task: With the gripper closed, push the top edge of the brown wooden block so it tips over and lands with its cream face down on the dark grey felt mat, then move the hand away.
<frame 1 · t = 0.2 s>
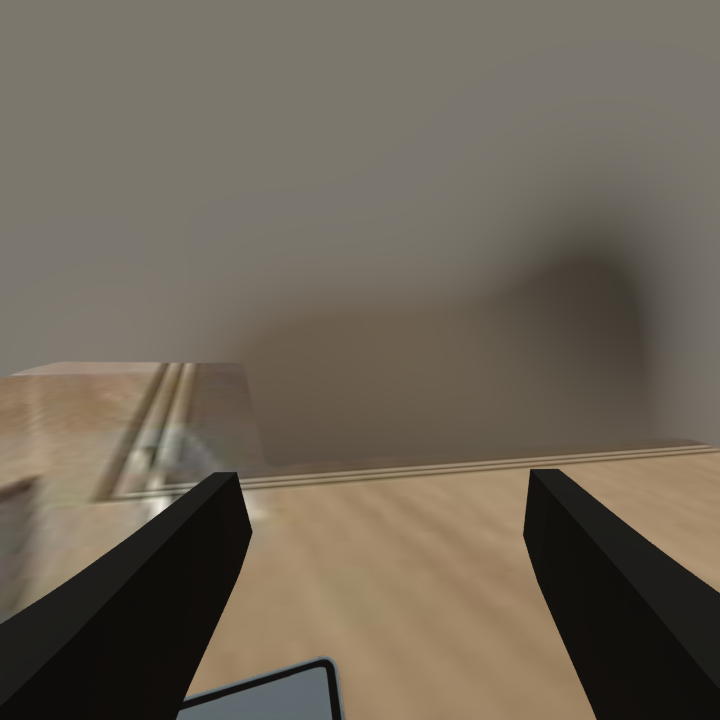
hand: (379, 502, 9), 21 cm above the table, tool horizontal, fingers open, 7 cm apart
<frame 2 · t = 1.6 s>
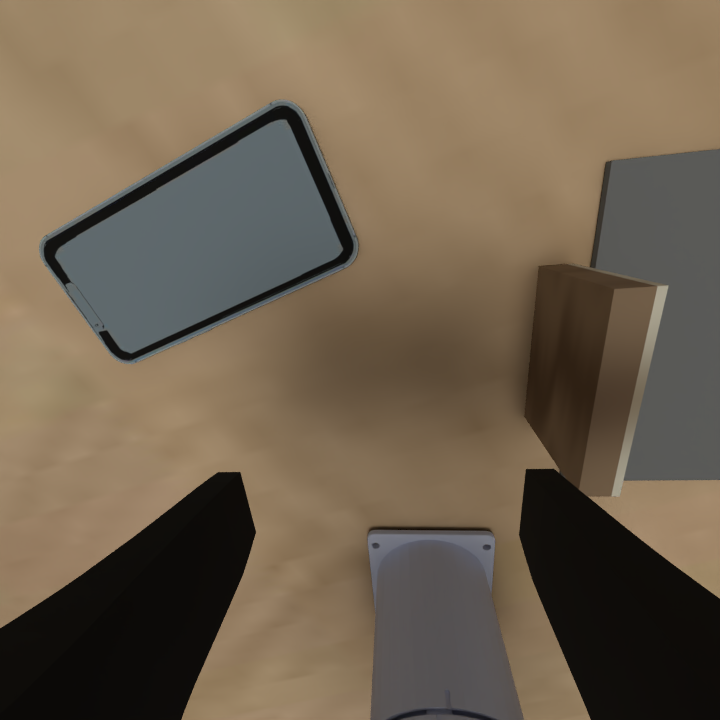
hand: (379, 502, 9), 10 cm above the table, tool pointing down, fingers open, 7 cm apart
smartphone: (204, 250, 18), on the table
brown wooden block: (546, 346, 17), on the table
mat: (713, 338, 16), on the table
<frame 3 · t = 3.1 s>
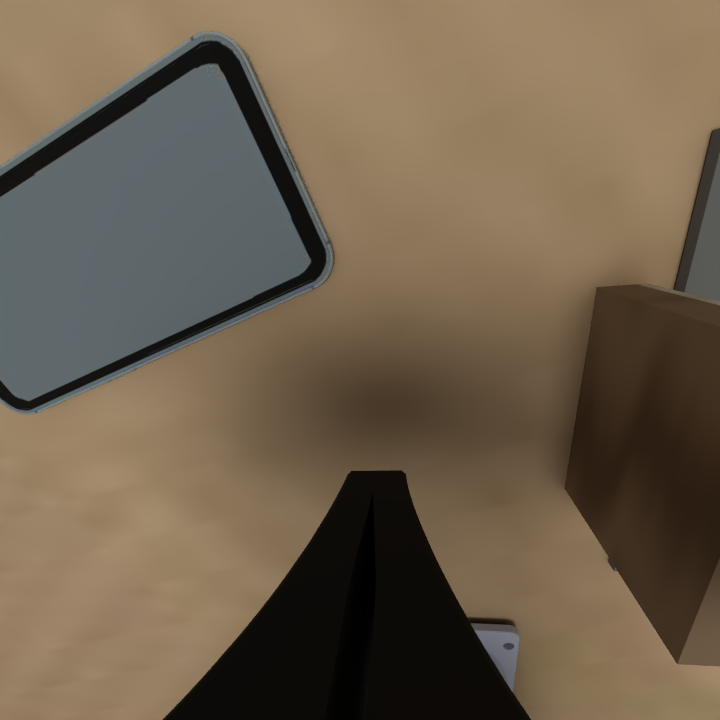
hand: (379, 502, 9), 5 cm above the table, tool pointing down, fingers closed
smartphone: (120, 261, 13), on the table
brown wooden block: (600, 398, 12), on the table
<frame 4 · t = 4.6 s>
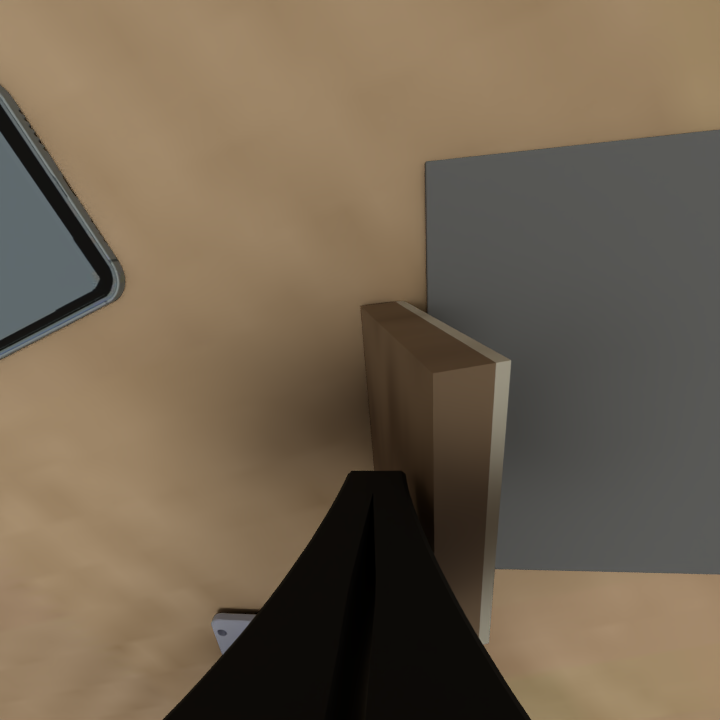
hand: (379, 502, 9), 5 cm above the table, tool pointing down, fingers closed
brown wooden block: (388, 408, 13), on the table, tilted 17°
mat: (599, 400, 12), on the table
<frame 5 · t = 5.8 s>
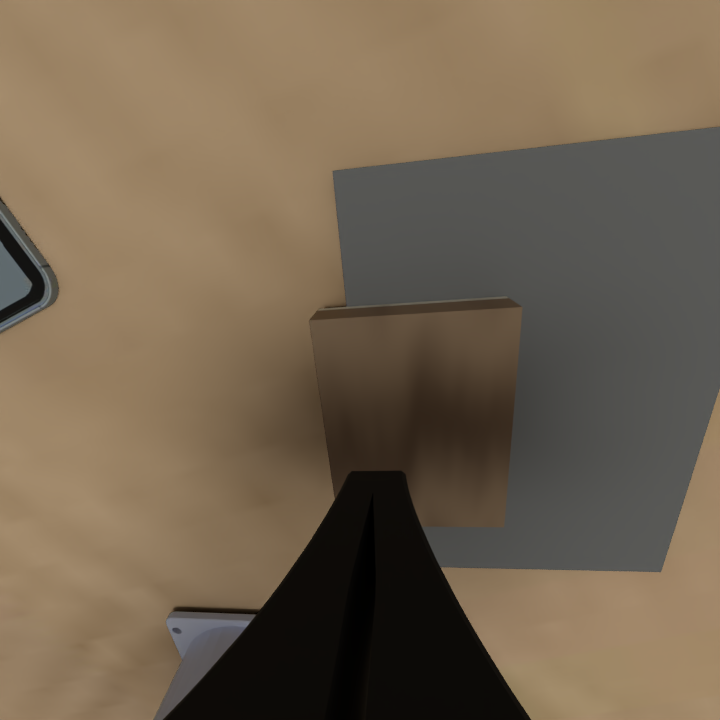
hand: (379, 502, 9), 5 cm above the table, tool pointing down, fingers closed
brown wooden block: (329, 423, 12), point 1 cm above the table, tilted 90°, touching mat
mat: (522, 401, 13), on the table
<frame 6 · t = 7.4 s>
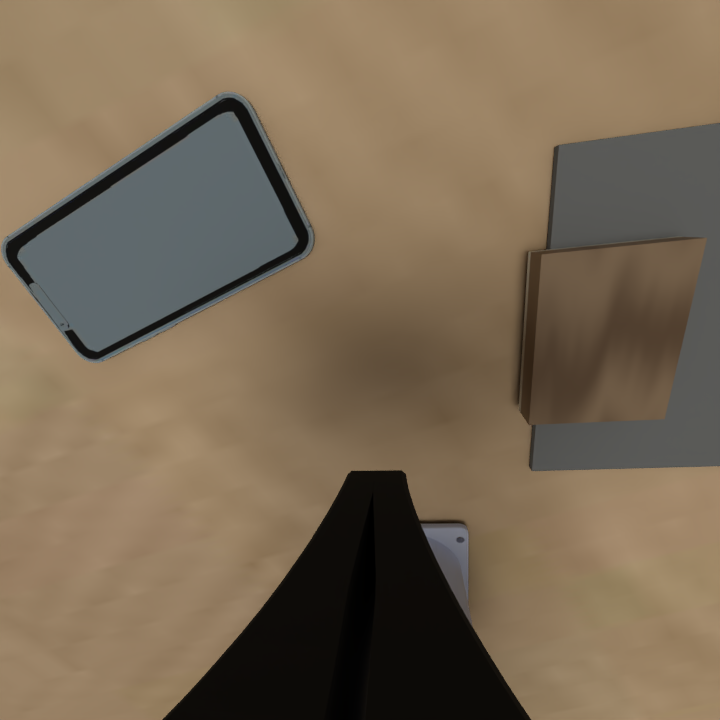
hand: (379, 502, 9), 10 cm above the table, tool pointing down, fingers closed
smartphone: (164, 246, 18), on the table
brown wooden block: (528, 342, 16), point 1 cm above the table, tilted 90°, touching mat
mat: (674, 323, 16), on the table
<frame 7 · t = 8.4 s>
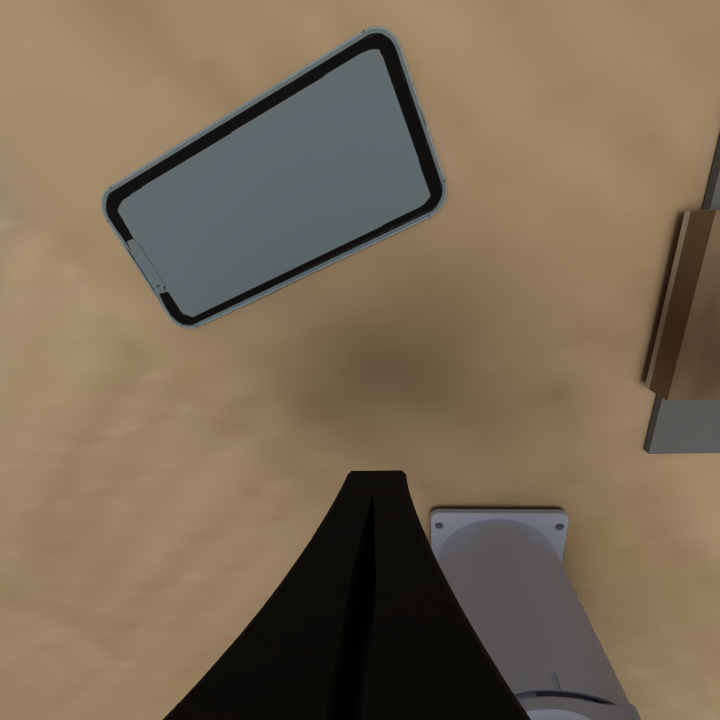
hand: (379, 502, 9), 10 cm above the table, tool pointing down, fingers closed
smartphone: (274, 203, 17), on the table
brown wooden block: (675, 310, 15), point 1 cm above the table, tilted 90°, touching mat
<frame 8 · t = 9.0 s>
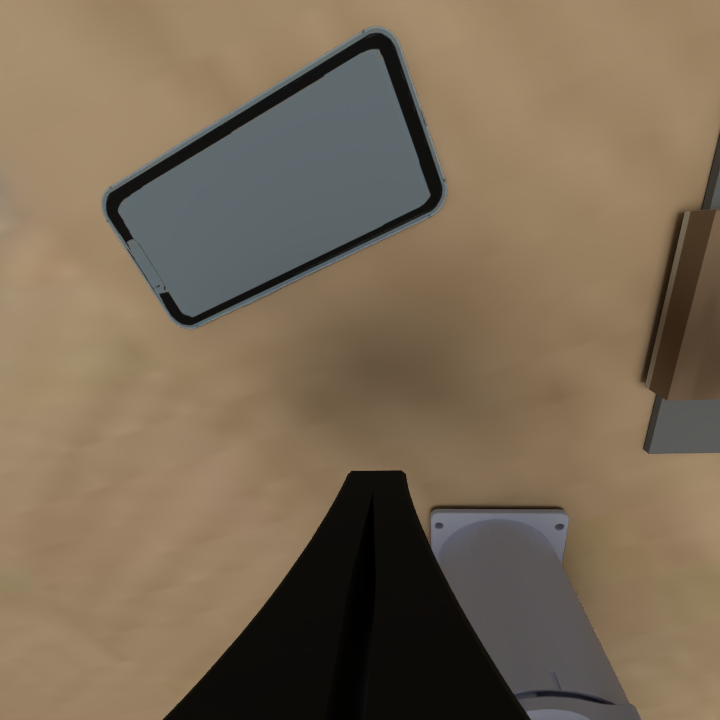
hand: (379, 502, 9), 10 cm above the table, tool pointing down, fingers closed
smartphone: (274, 203, 17), on the table
brown wooden block: (675, 310, 15), point 1 cm above the table, tilted 90°, touching mat
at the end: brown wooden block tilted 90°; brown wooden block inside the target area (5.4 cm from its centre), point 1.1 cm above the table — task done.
